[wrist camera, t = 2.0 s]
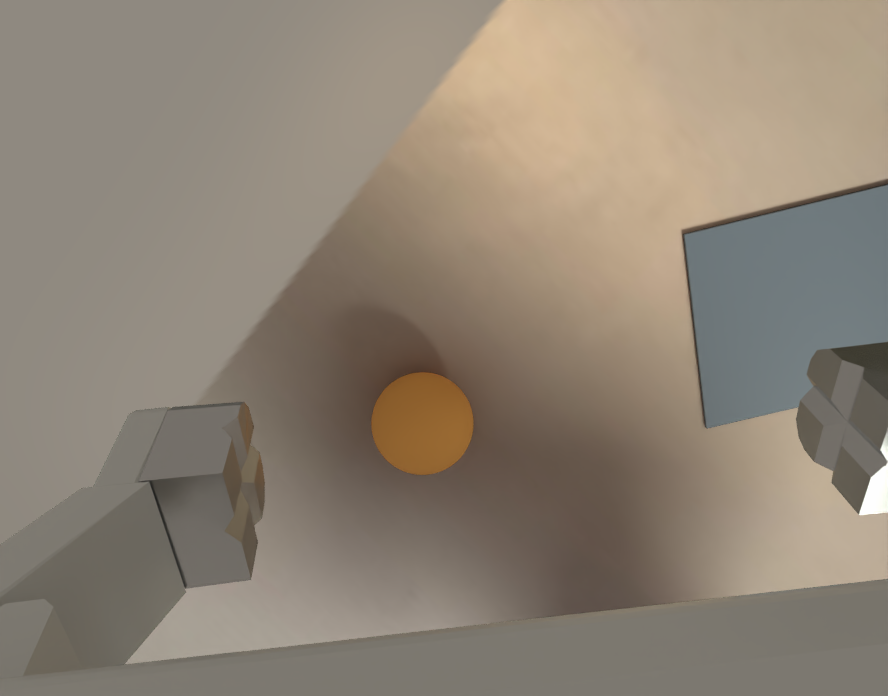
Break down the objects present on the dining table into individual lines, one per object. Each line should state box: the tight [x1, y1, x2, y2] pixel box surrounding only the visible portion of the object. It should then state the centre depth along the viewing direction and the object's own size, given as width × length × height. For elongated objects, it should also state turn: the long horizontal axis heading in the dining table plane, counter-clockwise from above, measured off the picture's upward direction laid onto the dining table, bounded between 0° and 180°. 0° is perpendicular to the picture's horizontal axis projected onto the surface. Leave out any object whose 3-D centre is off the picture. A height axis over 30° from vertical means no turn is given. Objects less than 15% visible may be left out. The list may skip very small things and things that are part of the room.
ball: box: [371, 372, 473, 475], centre depth 39 cm, size 6×6×6 cm
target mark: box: [683, 184, 888, 428], centre depth 40 cm, size 12×12×1 cm
